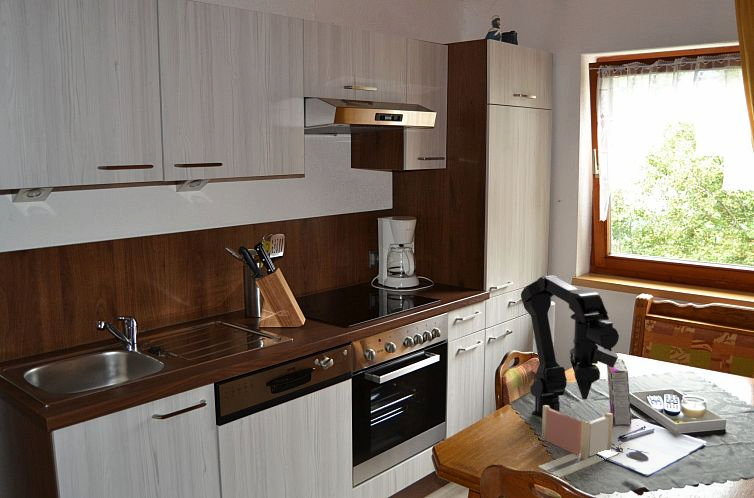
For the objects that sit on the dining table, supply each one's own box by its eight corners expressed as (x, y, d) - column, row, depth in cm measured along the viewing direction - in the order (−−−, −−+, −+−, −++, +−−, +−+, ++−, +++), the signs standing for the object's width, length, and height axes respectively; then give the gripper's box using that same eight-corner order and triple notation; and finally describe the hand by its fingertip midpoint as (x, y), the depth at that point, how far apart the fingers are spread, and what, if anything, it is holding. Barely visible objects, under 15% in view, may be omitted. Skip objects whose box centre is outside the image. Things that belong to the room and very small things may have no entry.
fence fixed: (584, 460, 182) (586, 424, 180) (578, 458, 183) (580, 421, 182) (612, 449, 188) (614, 414, 186) (606, 447, 190) (608, 411, 188)
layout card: (559, 477, 173) (559, 477, 173) (538, 467, 179) (538, 466, 179) (619, 453, 186) (619, 452, 186) (597, 444, 191) (597, 443, 191)
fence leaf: (581, 453, 185) (582, 419, 184) (576, 455, 184) (577, 421, 183) (545, 436, 195) (546, 404, 194) (540, 438, 194) (541, 406, 193)
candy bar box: (609, 410, 214) (605, 359, 212) (626, 410, 213) (623, 358, 211) (613, 425, 203) (610, 371, 201) (631, 425, 202) (628, 370, 200)
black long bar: (529, 368, 253) (531, 300, 249) (549, 367, 253) (551, 300, 249) (535, 375, 246) (537, 305, 242) (555, 374, 246) (558, 305, 242)
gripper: (621, 350, 181) (618, 407, 183) (611, 330, 199) (608, 382, 201) (576, 348, 183) (574, 405, 185) (570, 328, 201) (568, 380, 203)
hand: (582, 392), depth 194 cm, fingers open, 9 cm apart
